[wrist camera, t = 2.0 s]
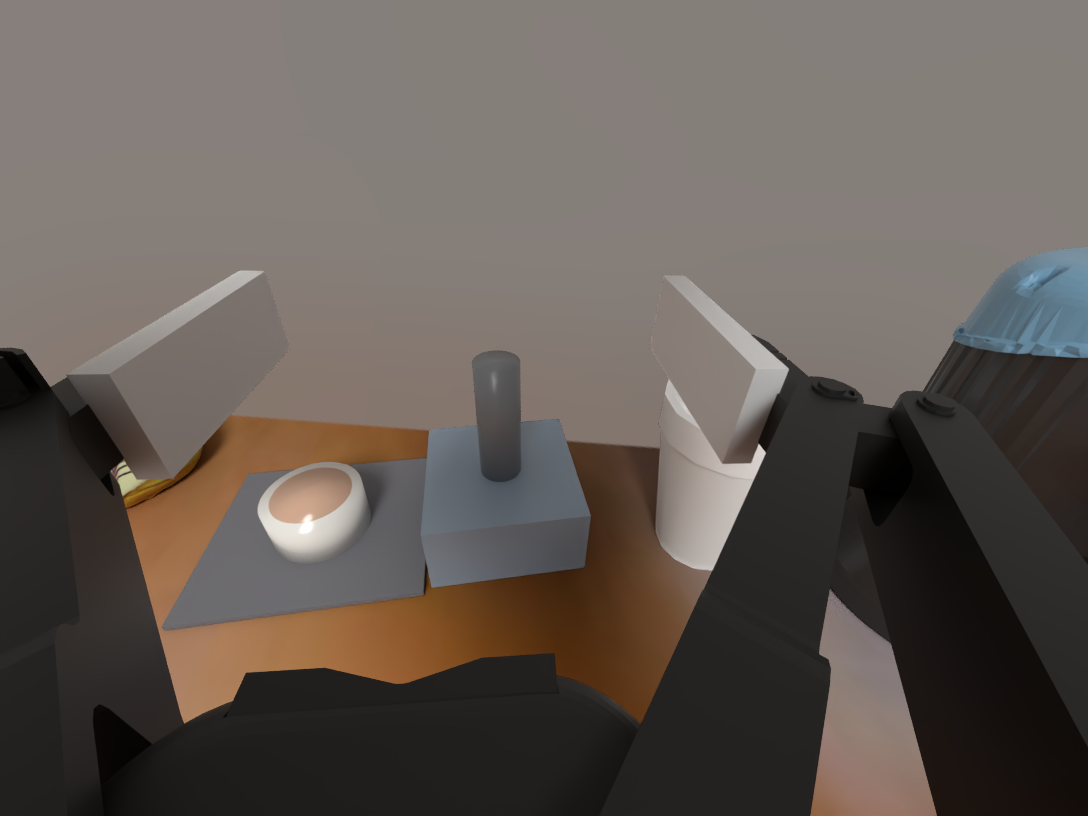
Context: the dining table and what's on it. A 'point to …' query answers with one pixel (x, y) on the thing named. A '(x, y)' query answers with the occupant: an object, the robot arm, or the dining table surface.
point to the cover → (501, 489)
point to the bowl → (315, 512)
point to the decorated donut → (146, 482)
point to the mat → (285, 587)
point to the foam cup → (696, 488)
